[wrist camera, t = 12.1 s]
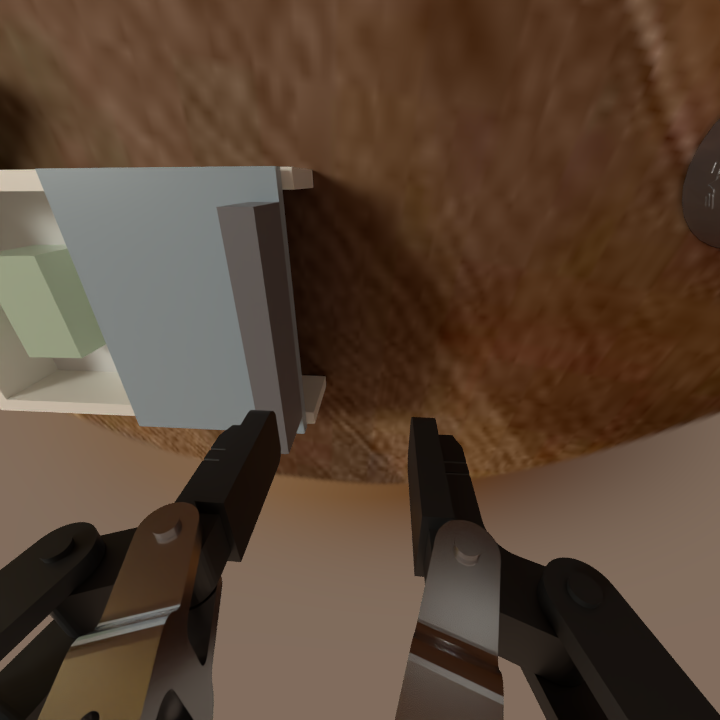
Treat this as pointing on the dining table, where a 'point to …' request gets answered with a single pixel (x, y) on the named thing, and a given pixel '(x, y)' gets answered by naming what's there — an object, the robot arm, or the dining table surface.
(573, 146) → the dining table surface
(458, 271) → the dining table surface
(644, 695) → the robot arm
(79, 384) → the housing
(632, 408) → the dining table surface
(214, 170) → the lid
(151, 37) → the dining table surface
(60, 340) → the pale green block
